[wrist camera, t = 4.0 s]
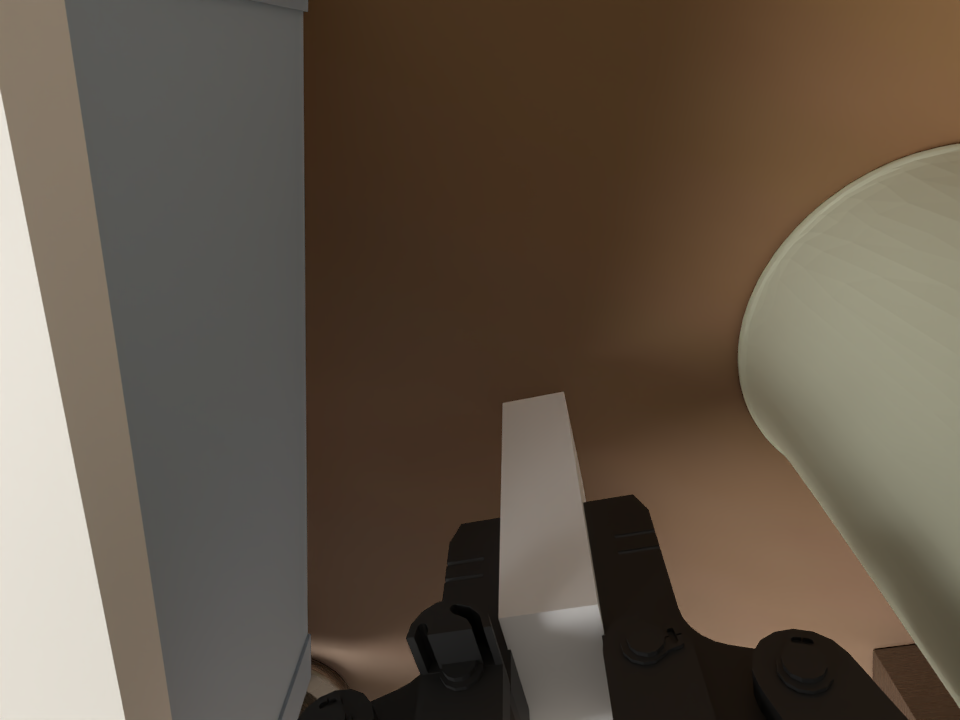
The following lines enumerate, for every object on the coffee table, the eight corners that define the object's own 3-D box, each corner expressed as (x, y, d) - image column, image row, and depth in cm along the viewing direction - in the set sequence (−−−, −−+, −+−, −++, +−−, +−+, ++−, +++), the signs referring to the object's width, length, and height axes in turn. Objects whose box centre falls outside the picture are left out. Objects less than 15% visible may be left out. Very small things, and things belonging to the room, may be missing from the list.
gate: (314, 677, 21) (193, 1063, 13) (247, 669, 21) (85, 1051, 13) (313, -110, 12) (-108, -459, 4) (194, -124, 12) (-486, -507, 4)
